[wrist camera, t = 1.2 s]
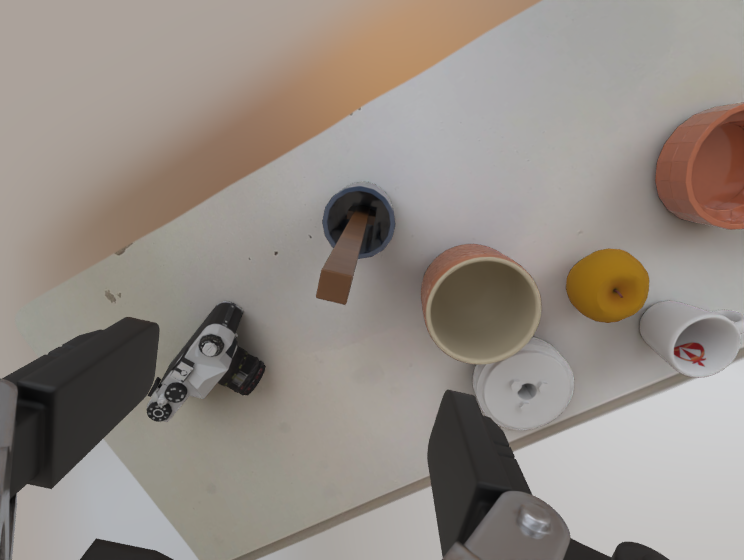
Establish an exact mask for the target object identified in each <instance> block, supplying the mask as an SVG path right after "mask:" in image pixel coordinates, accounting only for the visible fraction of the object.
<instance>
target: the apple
mask: <svg viewBox="0 0 744 560" xmlns="http://www.w3.org/2000/svg"><path fill="white" fill-rule="evenodd" d="M566 291H567V294H568V297H569V299H570V301H571V303H572V304H573V305H574V306H575V307H576V308H577V309H578V310H579V311H580V312H581V313H582V314H583V315H585V316H586V317H588V318H590V319H592V320H595V321H599V322H606V323H610V322H618V321H620V320H622V319H625V318H627V317H630V316H632V315H634V314H635V313H637V312H638V311H639V310H640V309H641V308H642V307H643V305H644V303H645V301H646V299H647V296H648V291H649V276H648V273H647V271H646V270H645V268H644V267H643V266H642V264H641V263H640V262H639V261H638V260H637V259H635V258H634V257H633V256H632V255H630V254H629V253H628V252H626V251H623V250H620V249H604V250H599V251H596V252H594V253H592V254H590V255H588V256H587V257H585V258H583V259H582V260H581V261H579V262H578V263H577V264H575V265H574V267H573V268H572V269H571V270H570V272H569V275H568V277H567V282H566Z"/></svg>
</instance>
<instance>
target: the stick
mask: <svg viewBox="0 0 744 560" xmlns="http://www.w3.org/2000/svg"><path fill="white" fill-rule="evenodd" d="M370 209H371V208H369V207H365V206H361V205H358V206H357V207H355V206H351V207H350V208H349V210H348V213H347V217H346V219H350V220H349V222H348V224H347V226H346V227H345V229H344V231H343V233H342V235H341V236H340V238H339V240H338V242H337V243H336V245H335V247H334V249H333V250H332V252H331V254H330V256H329V258H328V259H327V261H326V263H325V265H324V266H323V268H322V270H321V274H320V279H319V284H318V289H317V293H316V298H318V299H323V300H327V301H331V302H336V303H340V304H344V305H345V304H346V303H347V299H348V295H349V292H350V288H351V284H352V280H353V276H354V272H355V268H356V264H357V260H358V256H359V252H360V249H361V245H362V241H363V237H364V233H365V229H366V225H367V224H370V225H374V222H375V218H376V211H372V210H370Z"/></svg>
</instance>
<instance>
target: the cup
mask: <svg viewBox="0 0 744 560" xmlns="http://www.w3.org/2000/svg"><path fill="white" fill-rule="evenodd" d="M732 321H734V322H732ZM640 333H641V335H642V337H643V339H644V340H645V342H646V343H647V344H648V345H649V346H650V347H651V348H652V349H653V350H654V351H656V352H657V353H658V354H659V355H660V356H661V357H662V358H663V359H664V360H665V361H666V362H668V363H669V364H670V365H671V366H672V367H673V368H674V369H675V370H676V371H678V372H679V373H681V374H683V375H686V376H689V377H696V378H700V377H707V376H711V375H714V374H716V373H718V372H720V371H722V370H724V369H725V368H726V367H727V366H729V365H730V364H731V362H732V361H733V360H734V359H735V357H736V356H737V354H738V351H739V349H740V344H741V337H740V334H742V333H744V314H742V313H740V312H736V311H732V310H716V311H712V312H710V311H707V310H704V309H700V308H697V307H694V306H691V305H688V304H685V303H681V302H677V301H664V302H660V303H657V304H655V305H653V306H651V307H650V308H649V309H648V310H647V311H646V312H645V313H644V314H643V316H642V318H641V321H640Z"/></svg>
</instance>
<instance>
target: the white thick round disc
mask: <svg viewBox="0 0 744 560" xmlns="http://www.w3.org/2000/svg"><path fill="white" fill-rule="evenodd" d="M473 388H474V392H475V395H476V397H477V399H478V402H479V405H480V407H481V409H482V410H483V412H484V413H485V415H486V416H487V417H490V418H491V419H492V420H493V421H494V422H495V423H496V424H498V425H500V426H503V427H505V428H509V429H515V430H528V429H534V428H538V427H541V426H543V425H545V424H548V423H550V422H551V421H553V420H554V419H556V418H557V417H558V416H559V415H560V414H561V413H562V412H563V411H564V410H565V408H566V407H567V406H568V404H569V402H570V400H571V398H572V395H573V391H574V376H573V373H572V370H571V368H570V366H569V364H568V362H567V361H566V360H565V359H564V357H563V356H561V355H560V353H559V352H558V351H557V350H556V349H555V348H554V347H553V346H552V345H550V344H549V343H547V342H546V341H543V340H541V339H538V338H535V337H532V338H531V339H530V341H529V342H528V343H527V344H526V345H525V346H524V347H523V348H522V349H521V350H520V351H518V352H517V353H516V354H514V355H512V356H511V357H509V358H507V359H505V360H502V361H499V362H496V363H491V364H480V365H479V364H476V367H475V369H474V373H473Z"/></svg>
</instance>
